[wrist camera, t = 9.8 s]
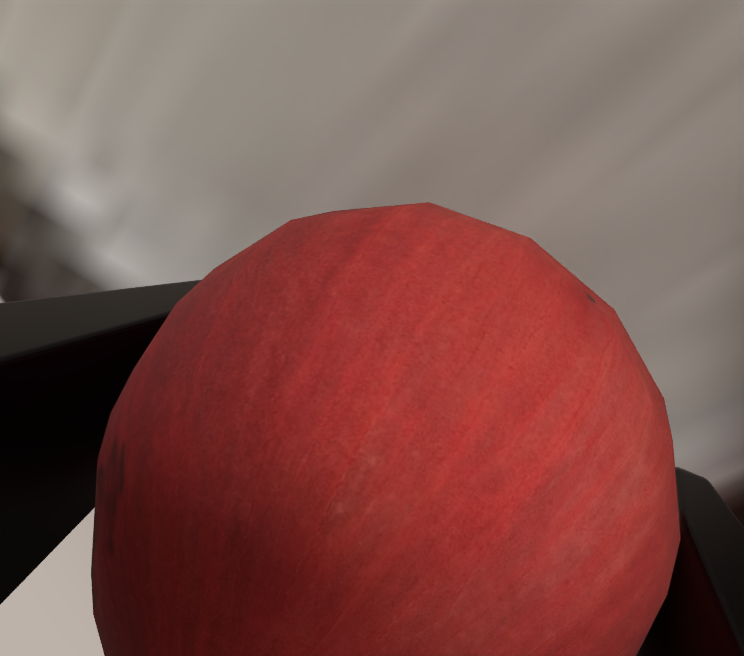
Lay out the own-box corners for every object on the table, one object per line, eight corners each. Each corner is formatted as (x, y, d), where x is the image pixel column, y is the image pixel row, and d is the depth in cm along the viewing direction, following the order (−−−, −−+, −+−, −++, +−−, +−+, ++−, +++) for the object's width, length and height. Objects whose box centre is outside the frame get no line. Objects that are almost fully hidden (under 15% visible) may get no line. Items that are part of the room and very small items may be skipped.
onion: (412, 522, 13) (137, 1117, 6) (234, 256, 12) (-340, 621, 5) (743, 423, 10) (914, 1363, 3) (544, 56, 9) (163, 290, 2)
